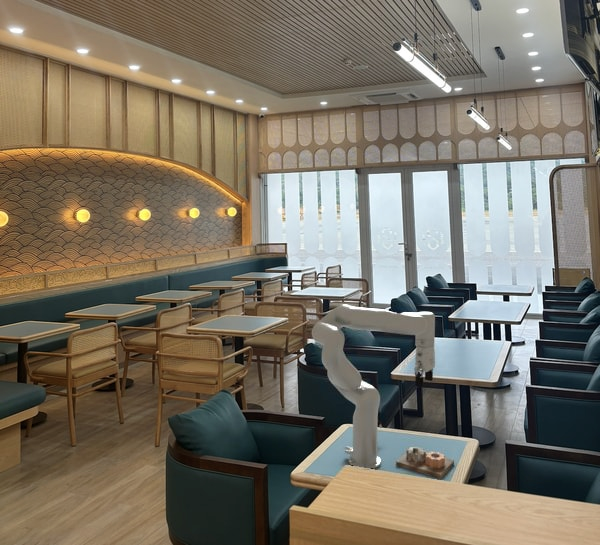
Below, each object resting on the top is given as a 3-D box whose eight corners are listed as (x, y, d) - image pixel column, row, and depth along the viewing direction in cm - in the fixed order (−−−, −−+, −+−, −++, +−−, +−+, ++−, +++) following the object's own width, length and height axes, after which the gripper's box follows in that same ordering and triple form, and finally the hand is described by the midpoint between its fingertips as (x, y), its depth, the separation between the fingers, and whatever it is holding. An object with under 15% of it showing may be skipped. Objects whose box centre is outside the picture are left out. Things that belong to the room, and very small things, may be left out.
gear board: (396, 465, 203) (396, 449, 203) (410, 452, 215) (411, 437, 214) (440, 478, 193) (441, 462, 192) (454, 463, 204) (454, 448, 203)
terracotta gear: (422, 464, 201) (422, 456, 200) (429, 457, 206) (429, 449, 206) (440, 469, 196) (441, 461, 196) (447, 462, 202) (448, 454, 202)
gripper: (425, 347, 203) (424, 390, 205) (441, 339, 217) (440, 379, 219) (407, 345, 207) (406, 387, 209) (424, 337, 221) (423, 376, 223)
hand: (424, 383), depth 214 cm, fingers open, 9 cm apart
